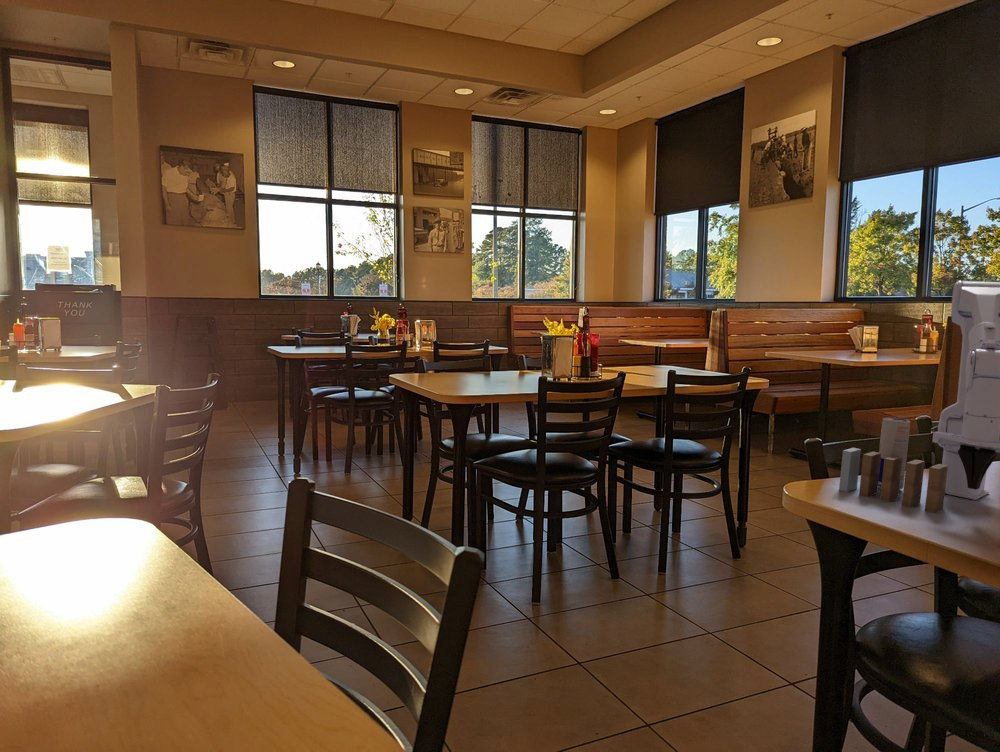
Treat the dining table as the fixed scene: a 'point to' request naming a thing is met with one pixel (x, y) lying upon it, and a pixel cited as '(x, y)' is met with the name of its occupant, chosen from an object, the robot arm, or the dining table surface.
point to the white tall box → (894, 444)
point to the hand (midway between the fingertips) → (973, 488)
